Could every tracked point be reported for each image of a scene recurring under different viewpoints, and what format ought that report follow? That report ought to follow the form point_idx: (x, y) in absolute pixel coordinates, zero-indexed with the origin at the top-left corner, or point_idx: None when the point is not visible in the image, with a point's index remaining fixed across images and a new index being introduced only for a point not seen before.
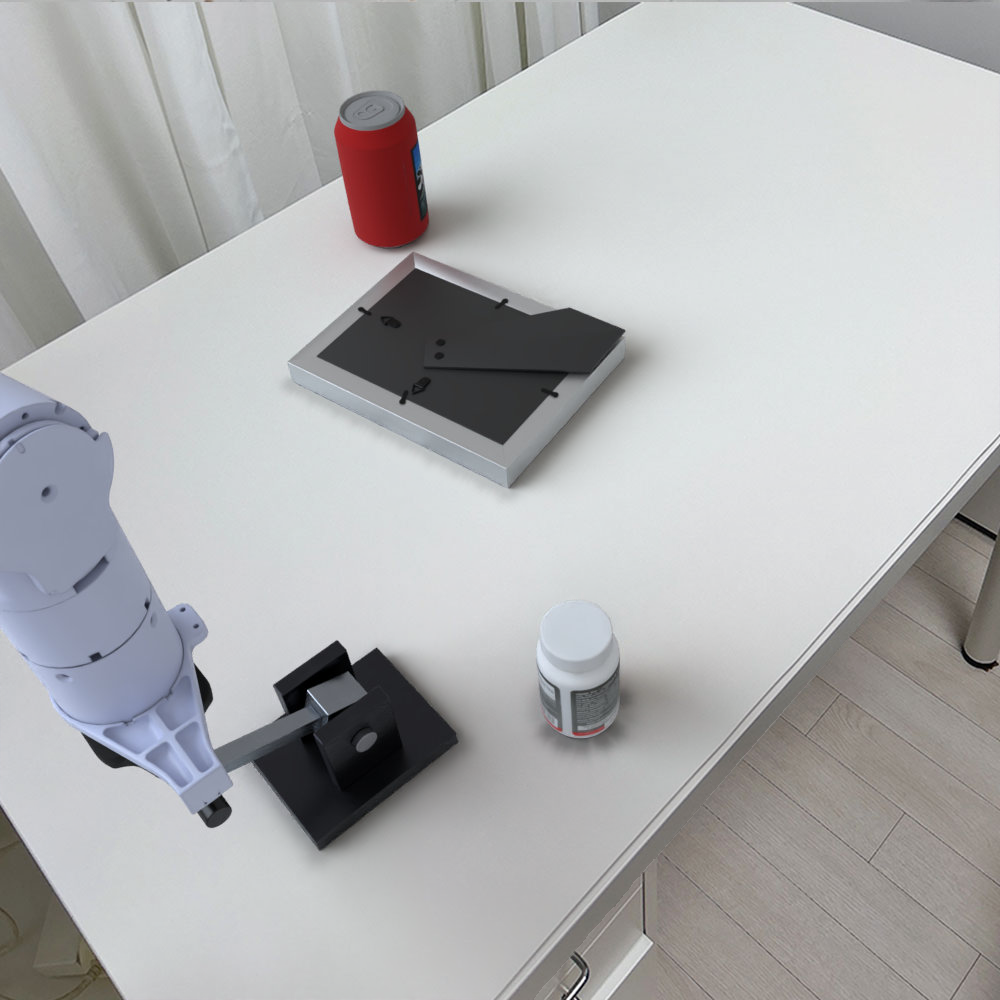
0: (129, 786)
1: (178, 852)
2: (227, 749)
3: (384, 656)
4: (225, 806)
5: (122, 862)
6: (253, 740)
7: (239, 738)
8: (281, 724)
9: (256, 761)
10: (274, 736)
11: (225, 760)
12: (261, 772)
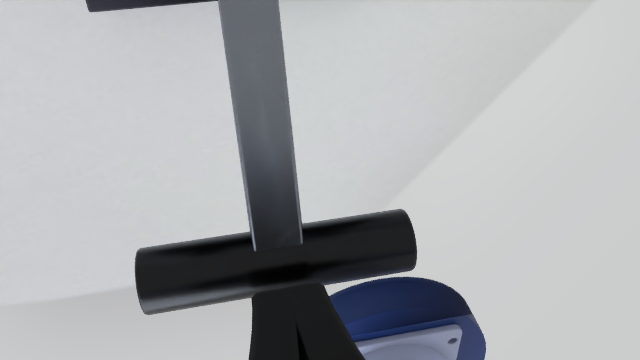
0: (56, 181)
1: (215, 156)
2: (261, 172)
3: None
4: (414, 238)
5: (182, 217)
6: (261, 101)
7: (240, 132)
8: (240, 4)
9: (147, 2)
10: (275, 44)
11: (292, 190)
12: (176, 4)
